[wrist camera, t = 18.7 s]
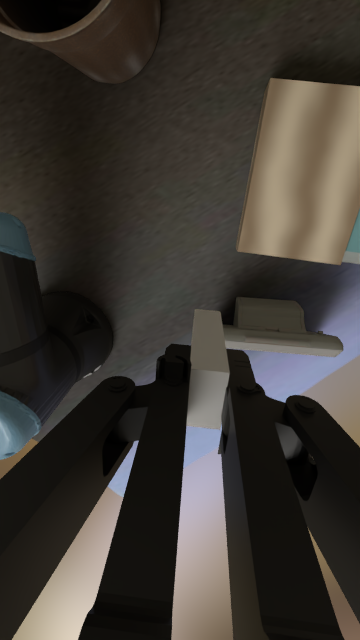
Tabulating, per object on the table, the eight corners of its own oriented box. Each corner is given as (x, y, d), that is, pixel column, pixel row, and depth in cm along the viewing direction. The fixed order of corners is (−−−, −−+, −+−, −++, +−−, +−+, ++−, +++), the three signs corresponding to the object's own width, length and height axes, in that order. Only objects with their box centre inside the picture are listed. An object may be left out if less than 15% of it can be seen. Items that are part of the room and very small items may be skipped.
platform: (235, 247, 41) (237, 251, 37) (264, 91, 34) (270, 78, 30) (329, 259, 40) (340, 265, 36) (378, 102, 33) (399, 90, 29)
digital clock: (204, 333, 46) (201, 367, 36) (220, 280, 43) (222, 303, 33) (302, 359, 46) (325, 401, 36) (326, 308, 42) (359, 339, 33)
